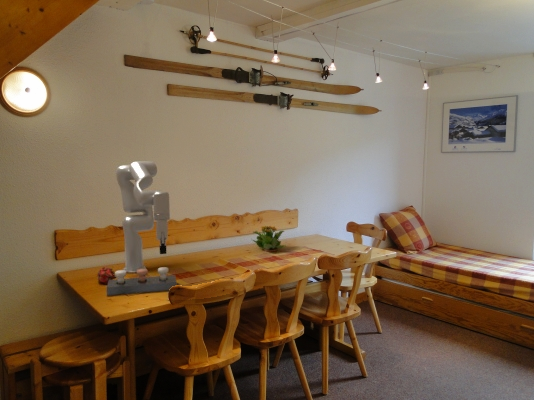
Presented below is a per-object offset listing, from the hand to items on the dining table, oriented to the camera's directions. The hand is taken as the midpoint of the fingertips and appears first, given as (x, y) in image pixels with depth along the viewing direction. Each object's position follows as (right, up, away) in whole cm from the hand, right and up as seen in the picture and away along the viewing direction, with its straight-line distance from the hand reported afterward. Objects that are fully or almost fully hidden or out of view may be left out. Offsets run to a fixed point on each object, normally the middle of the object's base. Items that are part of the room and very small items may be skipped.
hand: (163, 253), depth 204 cm
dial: (-10, -14, -1) cm, 17 cm away
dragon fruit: (-32, -16, +10) cm, 37 cm away
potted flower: (+54, -9, +82) cm, 98 cm away
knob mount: (-10, -17, 0) cm, 20 cm away
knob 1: (-20, -15, -4) cm, 25 cm away
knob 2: (0, -14, +2) cm, 14 cm away
